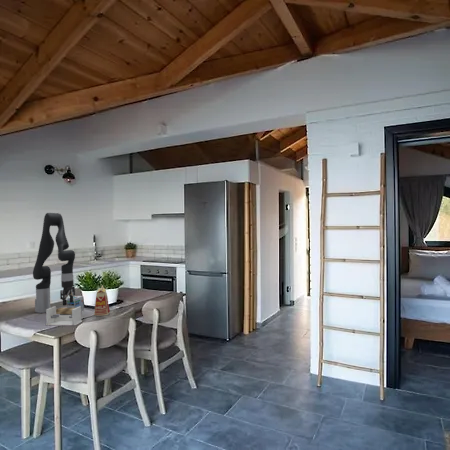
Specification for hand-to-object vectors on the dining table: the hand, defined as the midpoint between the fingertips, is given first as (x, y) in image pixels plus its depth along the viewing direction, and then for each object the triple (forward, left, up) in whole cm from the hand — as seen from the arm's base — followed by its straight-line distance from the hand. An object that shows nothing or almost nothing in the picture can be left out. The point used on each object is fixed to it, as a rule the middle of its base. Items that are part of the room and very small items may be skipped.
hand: (68, 303), depth 238 cm
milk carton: (+18, +13, -11) cm, 24 cm away
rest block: (0, 0, -10) cm, 10 cm away
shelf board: (0, 0, -6) cm, 6 cm away
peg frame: (+3, -10, -10) cm, 15 cm away
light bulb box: (-5, +19, -11) cm, 22 cm away
